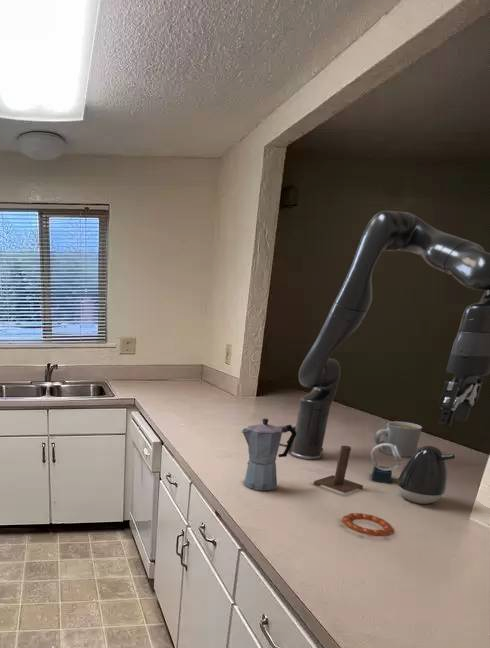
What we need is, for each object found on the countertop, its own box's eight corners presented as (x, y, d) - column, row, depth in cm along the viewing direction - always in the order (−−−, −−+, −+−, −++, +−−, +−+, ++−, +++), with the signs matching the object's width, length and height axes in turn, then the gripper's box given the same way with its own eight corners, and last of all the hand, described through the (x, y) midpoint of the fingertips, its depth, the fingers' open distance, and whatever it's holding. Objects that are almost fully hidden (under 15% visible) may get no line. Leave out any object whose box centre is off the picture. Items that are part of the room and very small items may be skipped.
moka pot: (229, 479, 131) (236, 415, 124) (278, 477, 132) (288, 413, 125) (242, 492, 122) (251, 423, 115) (295, 490, 123) (307, 422, 116)
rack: (313, 484, 127) (321, 445, 123) (332, 478, 131) (339, 440, 127) (343, 495, 119) (352, 454, 115) (362, 489, 124) (371, 448, 119)
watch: (397, 484, 126) (406, 449, 123) (365, 479, 130) (373, 444, 127) (396, 478, 131) (405, 444, 127) (365, 473, 135) (373, 439, 131)
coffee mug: (408, 449, 157) (415, 422, 153) (419, 458, 148) (427, 429, 145) (366, 446, 161) (372, 419, 157) (374, 454, 152) (381, 426, 148)
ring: (332, 524, 104) (334, 518, 103) (356, 515, 109) (358, 508, 108) (376, 543, 96) (378, 536, 95) (400, 532, 100) (402, 525, 100)
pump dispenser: (428, 511, 110) (445, 455, 105) (386, 496, 119) (399, 443, 114) (449, 503, 115) (466, 449, 109) (407, 489, 123) (421, 438, 118)
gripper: (465, 349, 103) (447, 416, 108) (438, 353, 96) (419, 424, 101) (507, 352, 97) (484, 422, 102) (480, 356, 90) (458, 431, 95)
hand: (452, 423), depth 102 cm, fingers open, 8 cm apart
